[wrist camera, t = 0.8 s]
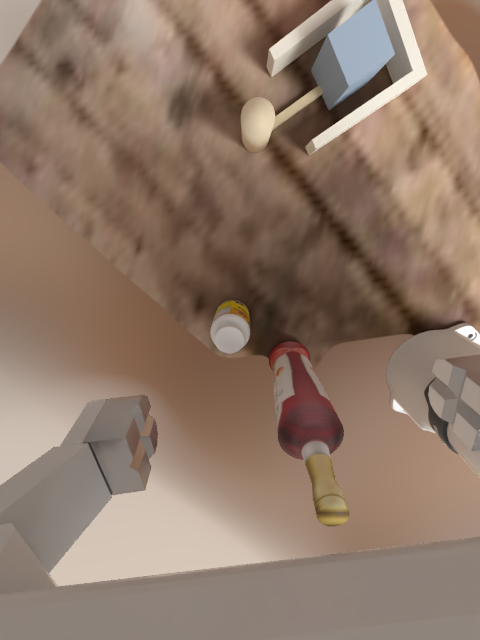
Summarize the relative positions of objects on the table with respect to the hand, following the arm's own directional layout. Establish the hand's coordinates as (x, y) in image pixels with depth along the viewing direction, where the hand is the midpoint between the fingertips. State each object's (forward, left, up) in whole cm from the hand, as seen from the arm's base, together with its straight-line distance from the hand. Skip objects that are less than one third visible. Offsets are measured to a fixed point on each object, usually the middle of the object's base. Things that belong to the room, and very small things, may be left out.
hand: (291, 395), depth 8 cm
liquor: (-14, +14, -38) cm, 43 cm away
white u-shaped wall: (+1, -23, -38) cm, 44 cm away
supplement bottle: (-2, +12, -38) cm, 40 cm away
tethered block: (+4, -18, -38) cm, 42 cm away
